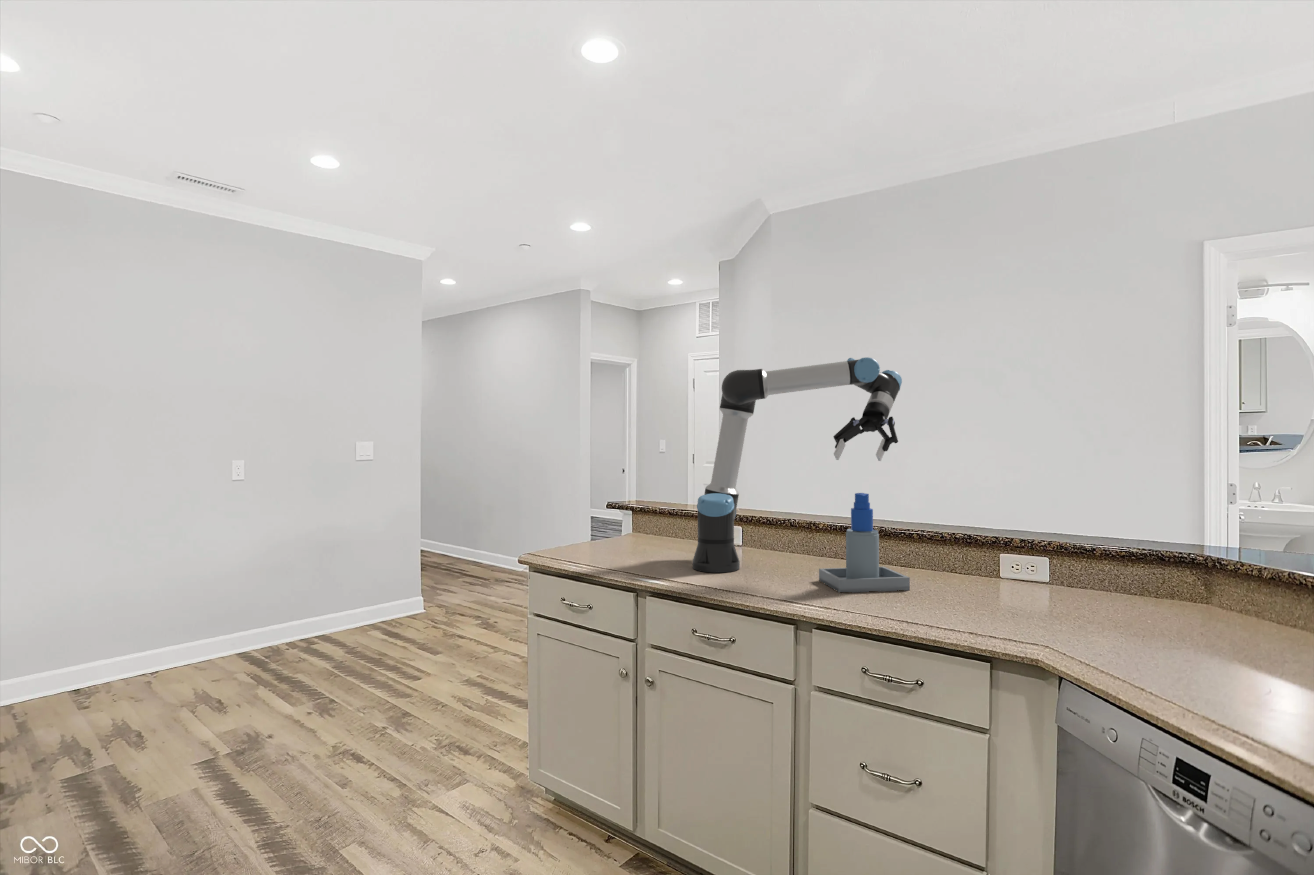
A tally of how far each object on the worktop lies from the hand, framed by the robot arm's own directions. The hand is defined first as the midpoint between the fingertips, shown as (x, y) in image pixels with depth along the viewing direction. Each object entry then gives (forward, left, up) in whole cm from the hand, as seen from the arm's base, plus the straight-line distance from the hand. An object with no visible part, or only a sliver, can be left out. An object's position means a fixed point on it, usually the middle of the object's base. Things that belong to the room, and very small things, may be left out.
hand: (856, 457), depth 196 cm
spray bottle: (+13, -4, -35) cm, 37 cm away
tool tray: (+13, -4, -36) cm, 38 cm away
